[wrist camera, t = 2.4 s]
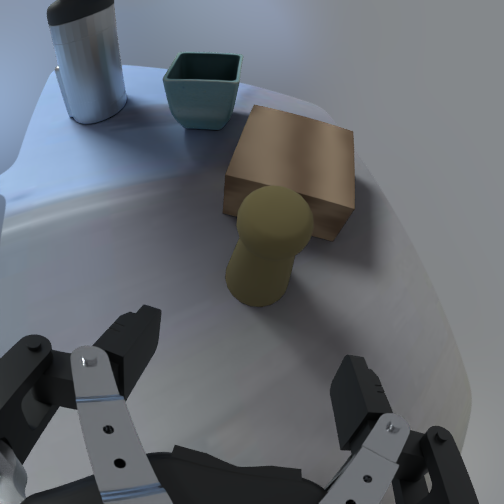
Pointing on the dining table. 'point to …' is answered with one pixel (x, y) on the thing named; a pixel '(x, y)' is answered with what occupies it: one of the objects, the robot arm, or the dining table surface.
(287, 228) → the cork
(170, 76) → the flower pot
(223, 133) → the dining table surface
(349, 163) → the walnut block
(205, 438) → the dining table surface
